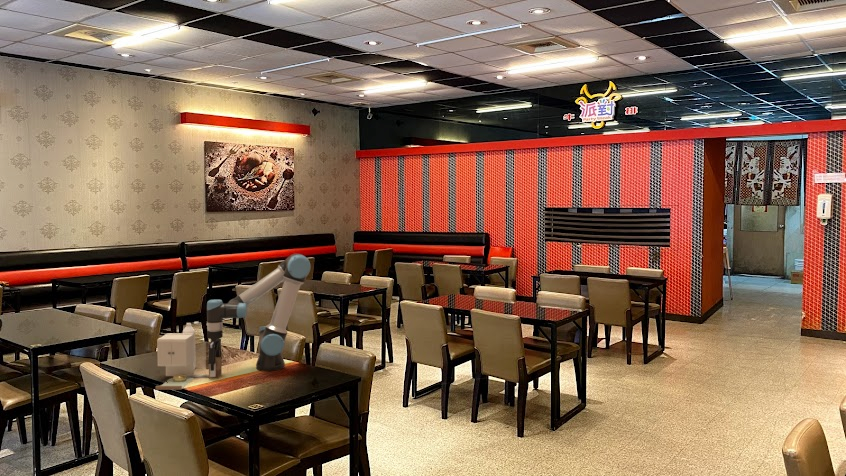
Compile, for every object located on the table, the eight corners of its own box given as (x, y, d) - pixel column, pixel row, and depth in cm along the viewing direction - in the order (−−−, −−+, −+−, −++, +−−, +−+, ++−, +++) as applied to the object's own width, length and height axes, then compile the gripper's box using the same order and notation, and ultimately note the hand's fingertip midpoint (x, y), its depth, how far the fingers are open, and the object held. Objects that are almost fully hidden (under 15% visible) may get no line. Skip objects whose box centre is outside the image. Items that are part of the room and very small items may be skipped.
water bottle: (186, 371, 346) (185, 324, 345) (180, 369, 351) (180, 322, 350) (201, 368, 353) (201, 322, 351) (196, 366, 357) (195, 320, 356)
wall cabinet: (194, 375, 338) (193, 333, 337) (185, 382, 324) (184, 338, 323) (166, 375, 338) (166, 333, 336) (156, 382, 324) (156, 338, 323)
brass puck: (187, 378, 331) (187, 373, 331) (183, 382, 325) (183, 377, 325) (175, 378, 331) (175, 373, 331) (171, 382, 325) (171, 377, 325)
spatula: (221, 376, 337) (221, 357, 336) (218, 378, 332) (218, 359, 331) (180, 376, 336) (180, 357, 336) (177, 379, 331) (176, 359, 331)
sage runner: (194, 378, 332) (194, 375, 332) (181, 389, 312) (181, 386, 312) (170, 378, 332) (170, 375, 332) (155, 389, 312) (155, 386, 312)
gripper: (213, 326, 343) (213, 369, 344) (201, 334, 322) (201, 379, 324) (227, 326, 343) (228, 369, 345) (216, 334, 323) (216, 379, 324)
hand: (215, 374), depth 334 cm, fingers open, 8 cm apart
